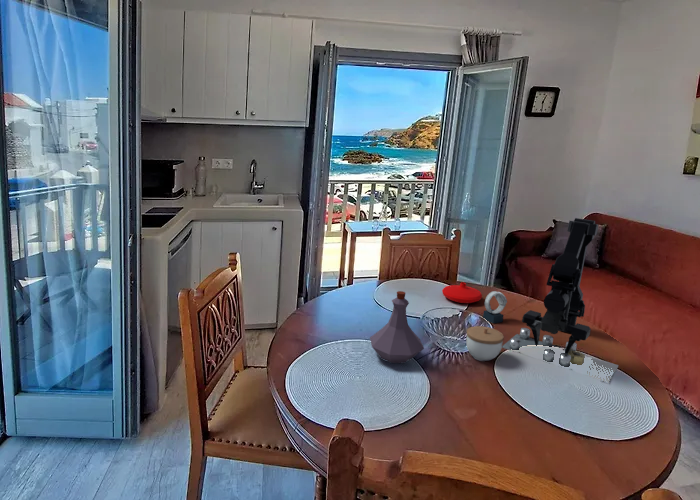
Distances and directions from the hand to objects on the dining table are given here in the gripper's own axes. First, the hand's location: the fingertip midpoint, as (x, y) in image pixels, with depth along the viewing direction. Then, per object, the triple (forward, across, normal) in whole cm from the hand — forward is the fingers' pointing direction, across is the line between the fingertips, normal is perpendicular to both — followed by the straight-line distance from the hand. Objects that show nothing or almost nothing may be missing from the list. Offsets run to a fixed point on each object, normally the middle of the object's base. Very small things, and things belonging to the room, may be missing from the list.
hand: (551, 350), depth 151 cm
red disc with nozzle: (+2, -42, +25) cm, 49 cm away
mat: (+2, +2, 0) cm, 3 cm away
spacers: (+2, -2, 0) cm, 3 cm away
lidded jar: (+2, -15, -17) cm, 23 cm away
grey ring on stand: (+2, -24, +13) cm, 27 cm away
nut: (+1, +7, 0) cm, 7 cm away
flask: (+2, -34, -36) cm, 49 cm away
